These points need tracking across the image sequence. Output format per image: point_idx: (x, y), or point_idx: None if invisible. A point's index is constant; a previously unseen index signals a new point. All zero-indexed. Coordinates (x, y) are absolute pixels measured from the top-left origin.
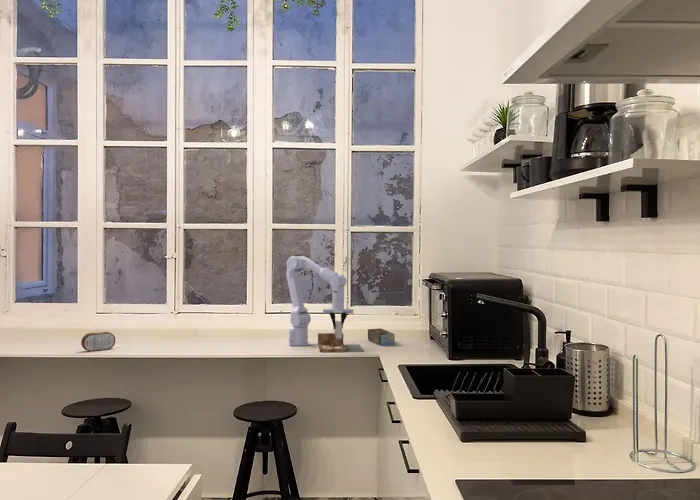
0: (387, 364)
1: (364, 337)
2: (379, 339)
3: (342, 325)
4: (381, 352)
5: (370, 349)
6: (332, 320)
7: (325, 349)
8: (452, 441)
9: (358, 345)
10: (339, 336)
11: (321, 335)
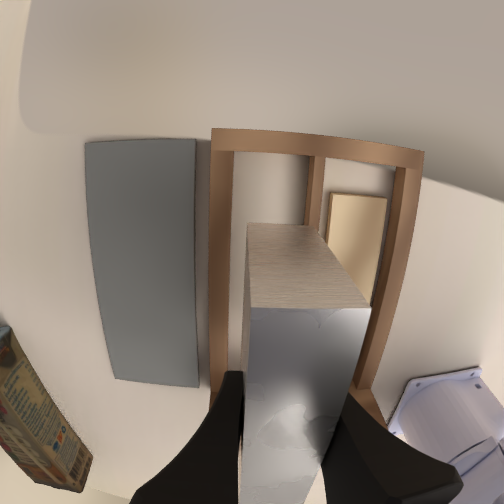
0: None
1: (118, 493)
2: (3, 360)
3: (224, 393)
4: (3, 113)
5: (46, 224)
6: (392, 435)
7: (388, 145)
8: None
9: (116, 346)
10: (277, 230)
11: None
